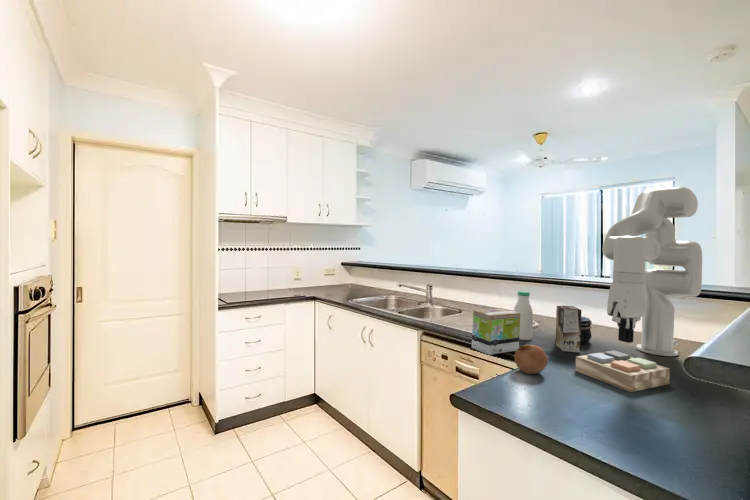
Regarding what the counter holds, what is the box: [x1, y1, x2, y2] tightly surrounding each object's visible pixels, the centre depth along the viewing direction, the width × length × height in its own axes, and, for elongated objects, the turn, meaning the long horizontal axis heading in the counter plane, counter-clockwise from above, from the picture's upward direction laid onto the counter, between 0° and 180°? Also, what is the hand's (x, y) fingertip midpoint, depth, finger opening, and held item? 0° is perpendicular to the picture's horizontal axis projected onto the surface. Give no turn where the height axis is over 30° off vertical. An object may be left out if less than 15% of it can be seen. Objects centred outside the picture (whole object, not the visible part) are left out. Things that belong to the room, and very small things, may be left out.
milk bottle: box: [513, 290, 534, 341], centre depth 151 cm, size 8×8×20 cm
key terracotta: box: [611, 360, 640, 372], centre depth 104 cm, size 5×5×3 cm
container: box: [580, 315, 593, 346], centre depth 148 cm, size 13×13×10 cm
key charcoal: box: [603, 349, 631, 361], centre depth 113 cm, size 5×5×3 cm
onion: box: [514, 344, 549, 375], centre depth 111 cm, size 10×9×10 cm
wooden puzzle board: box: [575, 352, 671, 393], centre depth 108 cm, size 17×17×5 cm
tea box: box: [471, 308, 520, 356], centre depth 134 cm, size 15×10×15 cm, turn 117°
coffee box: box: [555, 305, 582, 353], centre depth 137 cm, size 9×6×16 cm
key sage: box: [628, 357, 657, 369], centre depth 106 cm, size 5×5×3 cm
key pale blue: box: [587, 352, 614, 364], centre depth 110 cm, size 5×5×3 cm
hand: (625, 341), depth 103 cm, fingers closed
